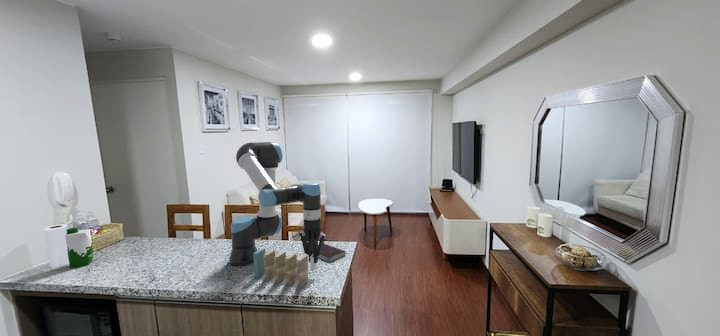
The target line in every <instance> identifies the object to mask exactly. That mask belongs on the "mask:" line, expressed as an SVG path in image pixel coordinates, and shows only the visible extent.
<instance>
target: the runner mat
mask: <svg viewBox="0 0 720 336" xmlns="http://www.w3.org/2000/svg"><path fill="white" fill-rule="evenodd" d="M249 279H252V280H256V281H262V282H265V283H270V284H276V285H280V286H281V285H282V286H285V287H290V288H295V289H299V290H305V291H306V290H307V289H308V288H309V287H310V286H311V285H312V284H313V283H314V282H315V281H316V279H312V278H308V281H307V282H306V283H305V284H304V285H303V286H302V287H300V286H297V279H296V280H295V281H293V282H292V283H291V284H286V277H285V278H284V279H282V280H281V281H280V282H275V275H274V276H273V277H272V278H270V279H269V280H266V279H265V276H264V274H263V275H261V276H260V277H258V278H256V277H254V274H253V275H251V276H250V277H249Z"/></svg>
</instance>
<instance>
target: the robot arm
mask: <svg viewBox="0 0 720 336" xmlns="http://www.w3.org/2000/svg"><path fill="white" fill-rule="evenodd" d="M235 155H236V156H235V159H236V163H237V165H238V166H239V167H240V169H242V170H244V171H245V173H246V174H247V175H248V177H249V179H250V181H252V183H253V184H254V187H255V188H257V189H256V190H257V191H258V192H259V193H258V195H257V196H258V197H257V199H258V202H259V205H258V207H259V209H258V211H257V212H256V217H255V218H254V216H251V215H247V216H242V217H239V218H236V219H234V220H233V221H232V222H231V224H230V237H231V251H230V255H229V258H228V259H229V260H228V262H229V265H230V266H232V267H245V266H248V265H252V264H254V257H253V253H254V252H256V251H258V249H257V247H256V240H258V239H262V238H267V237H273V236H274V235H278V234H279V233H280V232H281V231H282V227H283V220H282V216H281V215H280V214H279V213H278V211H277V210H276V206H282V205H286V204H287V205H288V204H293V203H302V210H303V227H304V228H303V230H301V231H300V232H299V233H298V236H299V237H300V240H301V243H302V247H303V252H304V255H307V256H308V263H310V271H311V272H314V271H316V270H317V263H318V262H319V257H318V256H319V255H320V254H322V250H323V245H324V244H325V239H326V238H327V236H328V235H327V234H326V233H324V232H322V218H321V217H322V215H321V214H322V211H321V210H322V209H321V205H322V204H321V193H322V192H321V185H320V183H319V182H305V183H303V184H299V183H297V184H296V183H294V184H291V185H290V186H283V187H282V186H281V187H278V185H277V184H276V170H277V169H278V168H279V164H280V163H282V161H283V150H282V148H281V145H280V144H278V143H277V142H271V141H266V142H265V141H264V142H246V143H245V144H243V145H241V146H240V147H239V148H238V150H237V152H236V153H235ZM318 245H319V246H318Z"/></svg>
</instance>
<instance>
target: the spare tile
mask: <svg viewBox="0 0 720 336" xmlns="http://www.w3.org/2000/svg"><path fill="white" fill-rule="evenodd" d="M264 254H266V248H259V249H257V251H256V252H254V253H253V257H254V263H253V273H254V274H253V275H254V277H256V278H258V277H260V276H261V275H263V274H264Z"/></svg>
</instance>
